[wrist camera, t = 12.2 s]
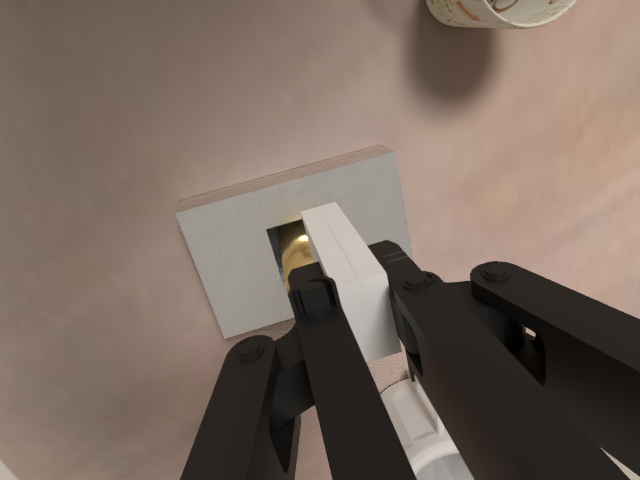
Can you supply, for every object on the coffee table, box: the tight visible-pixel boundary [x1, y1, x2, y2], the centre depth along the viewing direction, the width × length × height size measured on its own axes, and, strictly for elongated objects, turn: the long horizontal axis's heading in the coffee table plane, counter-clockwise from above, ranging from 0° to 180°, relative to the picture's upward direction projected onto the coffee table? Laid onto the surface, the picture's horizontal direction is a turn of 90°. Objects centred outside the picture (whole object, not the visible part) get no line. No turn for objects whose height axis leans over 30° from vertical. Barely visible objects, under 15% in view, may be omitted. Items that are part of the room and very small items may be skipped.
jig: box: [175, 145, 414, 339], centre depth 37 cm, size 12×18×4 cm, turn 103°
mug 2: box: [380, 376, 474, 480], centre depth 44 cm, size 14×11×10 cm
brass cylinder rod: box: [278, 219, 314, 294], centre depth 34 cm, size 4×4×10 cm
